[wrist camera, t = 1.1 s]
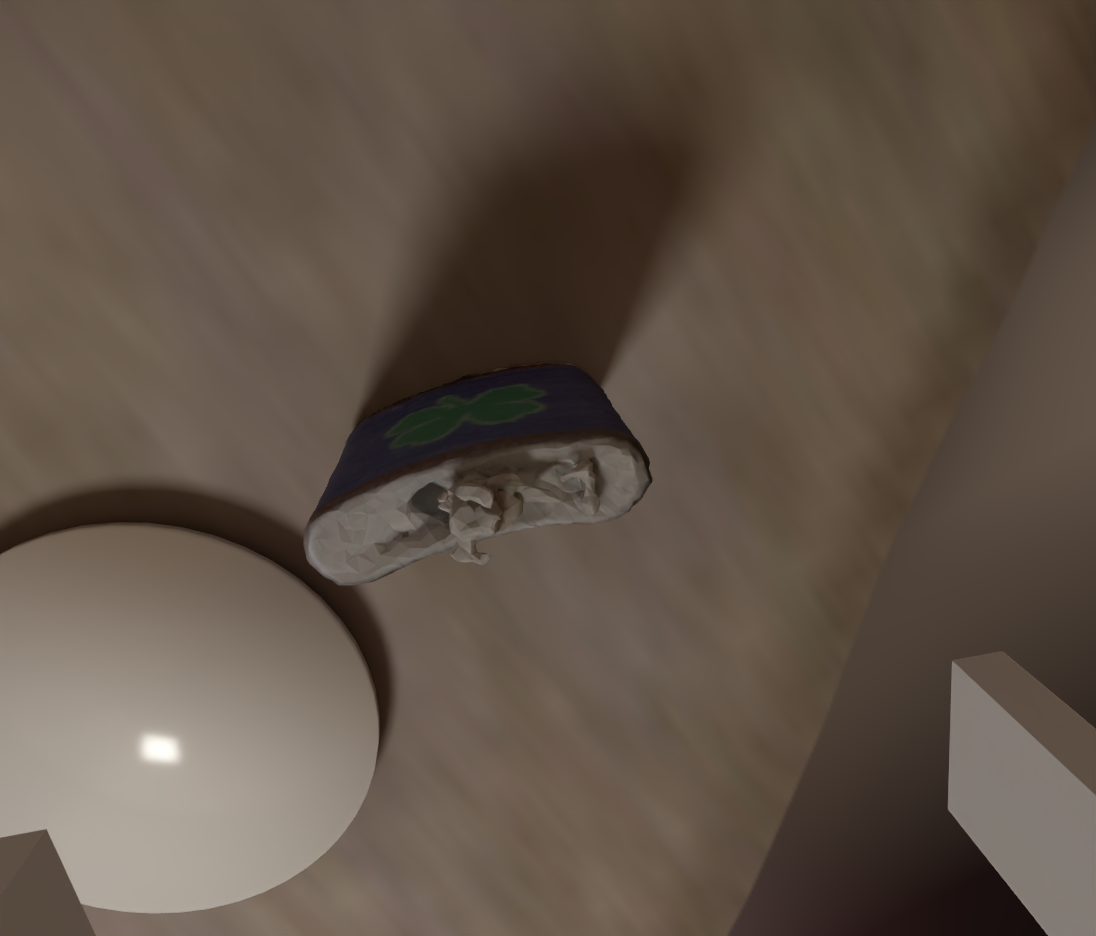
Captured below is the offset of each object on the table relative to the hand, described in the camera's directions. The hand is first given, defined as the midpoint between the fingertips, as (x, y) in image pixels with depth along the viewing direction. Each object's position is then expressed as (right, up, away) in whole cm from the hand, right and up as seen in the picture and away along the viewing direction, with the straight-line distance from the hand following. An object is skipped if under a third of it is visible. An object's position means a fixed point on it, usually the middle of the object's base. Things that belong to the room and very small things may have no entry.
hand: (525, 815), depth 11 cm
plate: (-15, -5, +19) cm, 24 cm away
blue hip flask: (-2, +7, +17) cm, 18 cm away
